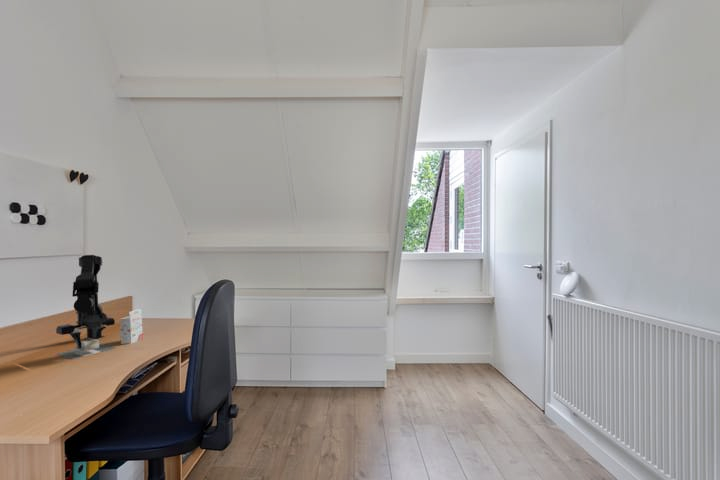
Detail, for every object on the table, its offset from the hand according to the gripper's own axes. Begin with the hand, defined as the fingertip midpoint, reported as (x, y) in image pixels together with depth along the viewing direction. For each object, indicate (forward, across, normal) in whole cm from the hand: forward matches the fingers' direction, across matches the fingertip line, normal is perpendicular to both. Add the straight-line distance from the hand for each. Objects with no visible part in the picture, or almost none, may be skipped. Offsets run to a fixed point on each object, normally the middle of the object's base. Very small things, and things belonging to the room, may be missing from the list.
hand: (87, 346), depth 148 cm
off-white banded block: (+1, 0, 0) cm, 1 cm away
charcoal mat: (+3, +1, +3) cm, 4 cm away
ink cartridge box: (+3, +18, +1) cm, 18 cm away
